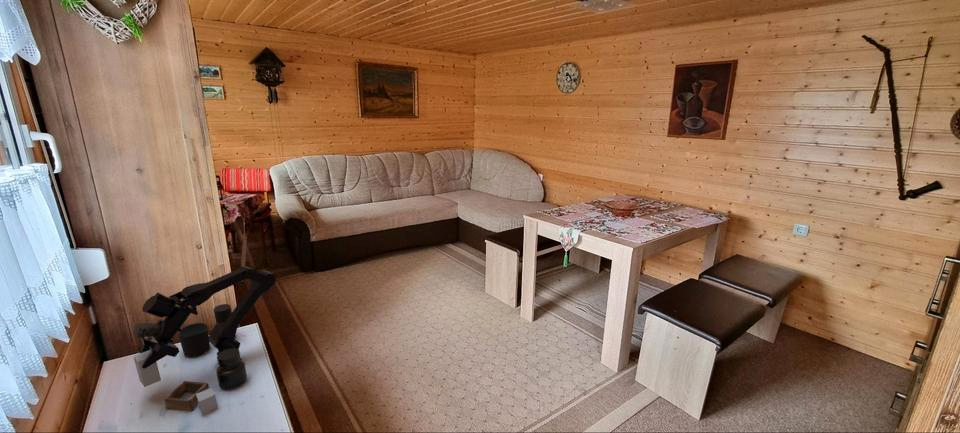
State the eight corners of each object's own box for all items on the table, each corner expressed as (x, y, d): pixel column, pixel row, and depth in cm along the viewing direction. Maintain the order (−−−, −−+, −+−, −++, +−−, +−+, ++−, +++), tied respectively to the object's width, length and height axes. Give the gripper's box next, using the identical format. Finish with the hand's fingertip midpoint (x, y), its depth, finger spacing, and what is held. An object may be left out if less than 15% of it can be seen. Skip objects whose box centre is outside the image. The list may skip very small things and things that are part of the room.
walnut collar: (186, 390, 142) (184, 380, 140) (209, 392, 141) (207, 383, 140) (166, 408, 133) (164, 399, 132) (191, 411, 133) (188, 401, 132)
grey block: (214, 400, 138) (211, 387, 136) (217, 408, 135) (215, 394, 133) (198, 407, 134) (195, 394, 133) (202, 415, 131) (199, 401, 130)
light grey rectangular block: (156, 374, 140) (149, 349, 137) (161, 379, 137) (154, 355, 134) (140, 381, 136) (133, 356, 133) (144, 387, 134) (137, 361, 131)
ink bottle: (244, 370, 152) (239, 342, 149) (252, 382, 146) (247, 354, 143) (214, 382, 146) (209, 354, 142) (221, 395, 140) (215, 366, 136)
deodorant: (231, 333, 174) (226, 302, 170) (238, 338, 171) (233, 307, 166) (216, 339, 170) (210, 308, 165) (223, 345, 166) (217, 313, 162)
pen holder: (216, 348, 164) (212, 326, 161) (192, 361, 156) (188, 339, 153) (201, 341, 168) (197, 320, 165) (177, 354, 160) (172, 332, 157)
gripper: (139, 304, 138) (105, 347, 132) (160, 323, 127) (123, 371, 122) (171, 315, 146) (140, 356, 141) (193, 334, 136) (160, 379, 131)
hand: (140, 365), depth 133 cm, fingers closed on light grey rectangular block, 4 cm apart
